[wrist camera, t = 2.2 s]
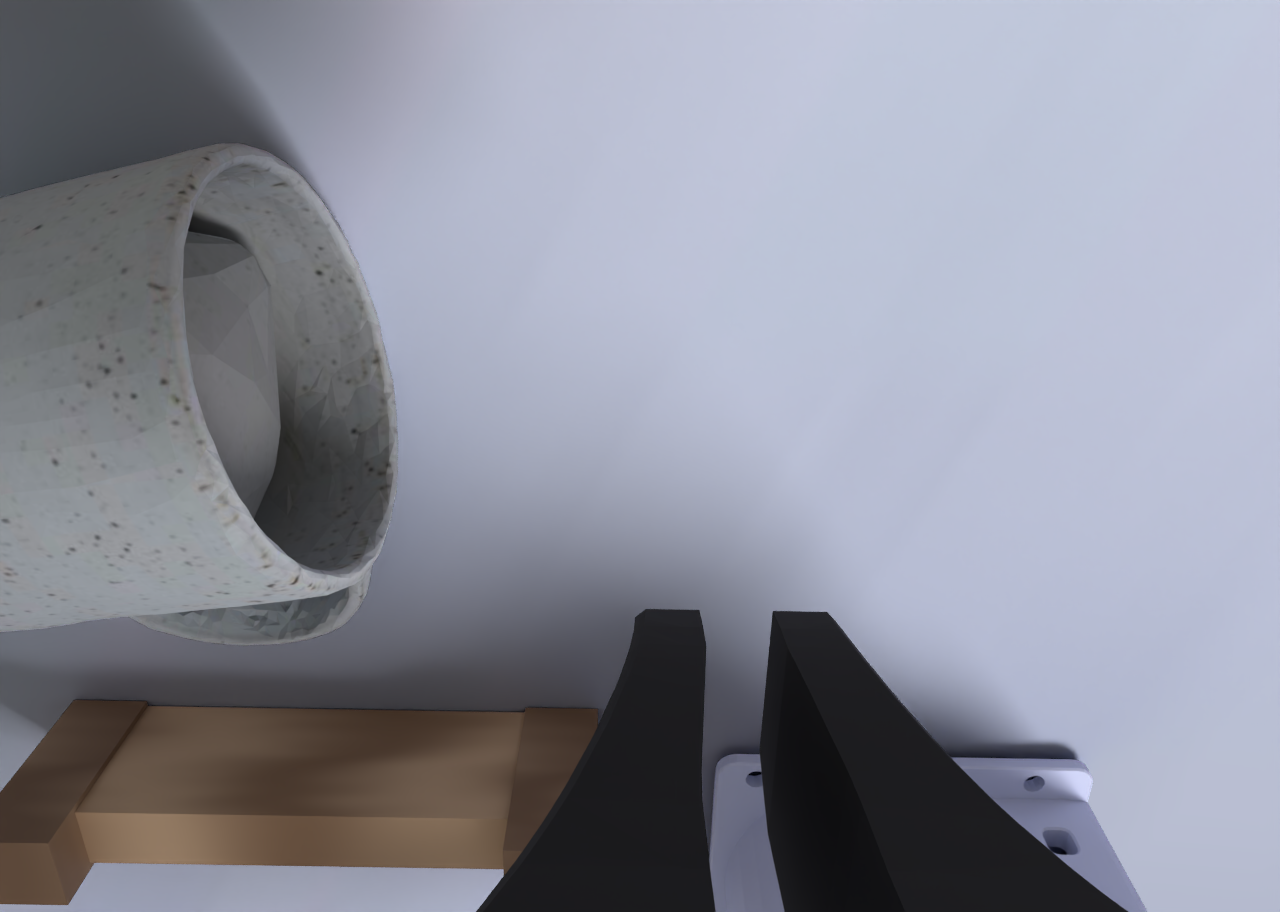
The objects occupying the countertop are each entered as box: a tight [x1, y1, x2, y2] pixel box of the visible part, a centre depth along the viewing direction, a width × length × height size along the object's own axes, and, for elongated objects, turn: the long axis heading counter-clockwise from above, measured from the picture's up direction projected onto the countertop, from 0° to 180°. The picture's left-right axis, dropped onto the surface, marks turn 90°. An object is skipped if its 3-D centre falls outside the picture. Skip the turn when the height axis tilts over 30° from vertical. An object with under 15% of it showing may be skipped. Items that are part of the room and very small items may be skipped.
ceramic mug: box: [0, 143, 398, 646], centre depth 18 cm, size 11×8×8 cm
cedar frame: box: [0, 700, 598, 905], centre depth 19 cm, size 13×21×4 cm, turn 179°
